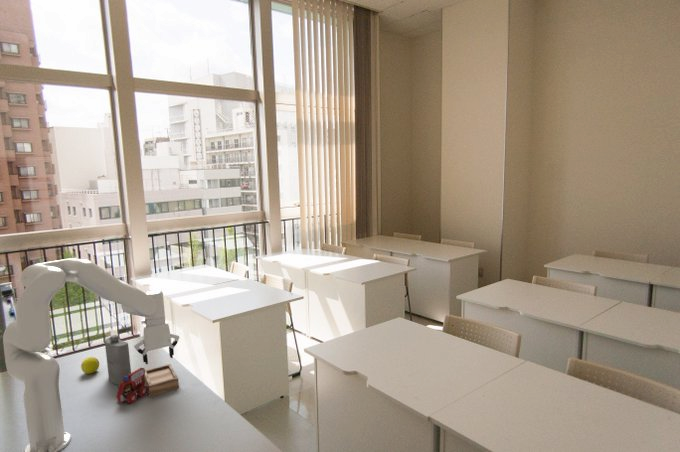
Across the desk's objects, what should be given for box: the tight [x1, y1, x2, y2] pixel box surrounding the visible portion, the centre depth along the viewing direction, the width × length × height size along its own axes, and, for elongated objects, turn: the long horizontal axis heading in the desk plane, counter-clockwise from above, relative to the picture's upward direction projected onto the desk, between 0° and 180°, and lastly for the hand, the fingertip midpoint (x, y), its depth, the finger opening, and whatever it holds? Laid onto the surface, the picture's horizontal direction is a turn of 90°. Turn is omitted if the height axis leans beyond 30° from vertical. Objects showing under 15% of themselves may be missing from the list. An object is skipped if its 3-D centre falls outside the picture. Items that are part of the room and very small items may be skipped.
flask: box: [104, 334, 132, 386], centre depth 181 cm, size 15×6×20 cm, turn 50°
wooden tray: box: [144, 363, 180, 397], centre depth 177 cm, size 16×11×4 cm
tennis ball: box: [80, 356, 100, 375], centre depth 190 cm, size 7×7×7 cm
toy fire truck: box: [116, 367, 149, 404], centre depth 166 cm, size 7×12×10 cm, turn 157°
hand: (159, 360), depth 176 cm, fingers open, 9 cm apart
